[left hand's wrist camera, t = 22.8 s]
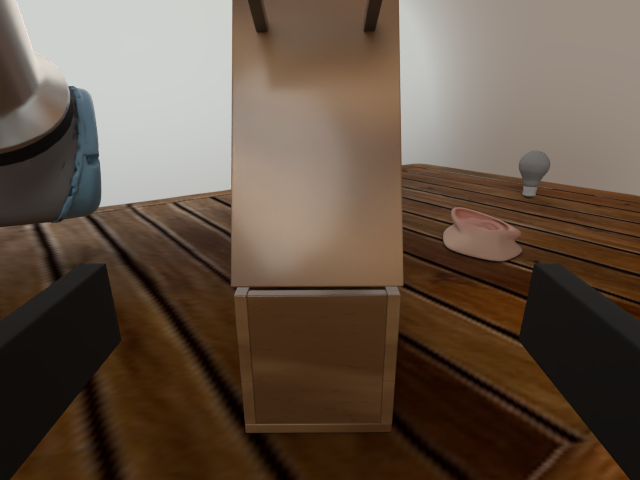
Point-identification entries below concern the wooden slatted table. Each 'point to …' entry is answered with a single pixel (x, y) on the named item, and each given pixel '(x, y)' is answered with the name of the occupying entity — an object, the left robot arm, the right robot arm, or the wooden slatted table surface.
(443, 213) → the wooden slatted table surface
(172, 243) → the wooden slatted table surface
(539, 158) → the light bulb
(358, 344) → the chest
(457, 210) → the anatomical model
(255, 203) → the lid
